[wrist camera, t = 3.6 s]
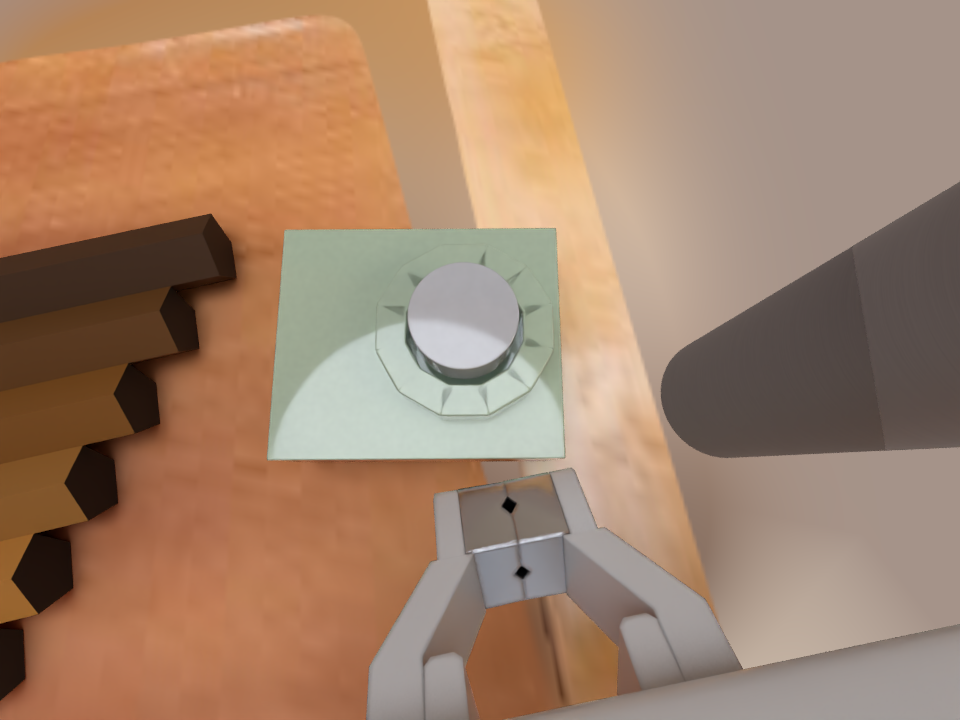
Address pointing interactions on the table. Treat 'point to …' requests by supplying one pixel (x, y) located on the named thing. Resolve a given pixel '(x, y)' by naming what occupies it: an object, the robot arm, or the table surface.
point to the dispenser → (409, 352)
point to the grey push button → (463, 319)
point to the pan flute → (82, 388)
